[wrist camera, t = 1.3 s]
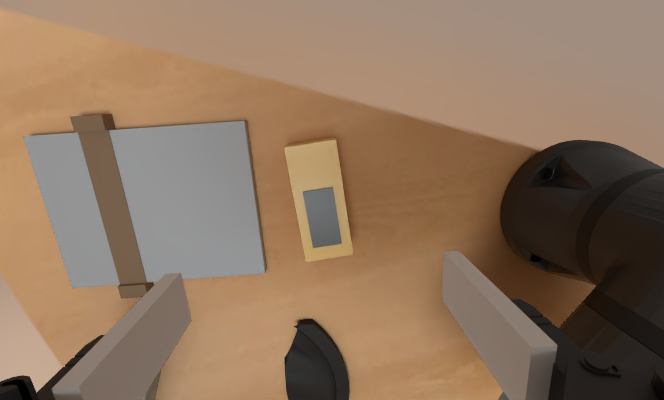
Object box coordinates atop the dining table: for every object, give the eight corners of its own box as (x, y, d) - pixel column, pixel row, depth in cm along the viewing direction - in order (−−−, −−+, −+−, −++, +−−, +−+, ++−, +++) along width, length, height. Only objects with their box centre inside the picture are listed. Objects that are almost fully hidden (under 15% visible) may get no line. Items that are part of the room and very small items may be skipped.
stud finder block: (334, 136, 33) (336, 139, 29) (349, 239, 36) (353, 255, 32) (288, 144, 33) (283, 147, 29) (307, 246, 36) (306, 262, 32)
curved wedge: (348, 314, 39) (349, 322, 37) (348, 400, 42) (349, 411, 40) (282, 316, 38) (280, 325, 37) (287, 402, 42) (286, 413, 40)
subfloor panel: (244, 105, 31) (240, 104, 30) (268, 280, 36) (266, 287, 35) (27, 120, 31) (12, 120, 29) (82, 294, 36) (72, 302, 35)
